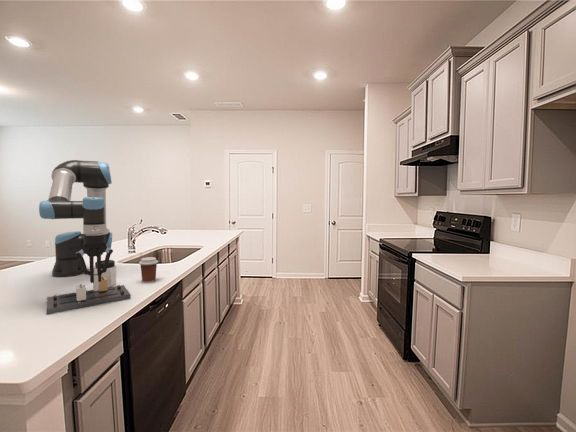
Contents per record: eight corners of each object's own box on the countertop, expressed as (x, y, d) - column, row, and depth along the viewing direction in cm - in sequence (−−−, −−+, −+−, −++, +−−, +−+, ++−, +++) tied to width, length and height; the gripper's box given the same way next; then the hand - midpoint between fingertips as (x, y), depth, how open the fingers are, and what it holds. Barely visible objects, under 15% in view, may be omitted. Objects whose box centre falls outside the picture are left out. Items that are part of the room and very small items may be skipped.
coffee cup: (145, 284, 144) (145, 261, 144) (135, 281, 149) (135, 258, 148) (162, 280, 152) (161, 258, 151) (151, 277, 157) (151, 255, 156)
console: (47, 301, 119) (47, 294, 119) (123, 289, 137) (123, 282, 137) (46, 314, 107) (46, 306, 107) (130, 298, 125) (130, 292, 124)
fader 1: (76, 298, 117) (76, 285, 117) (85, 296, 119) (84, 283, 119) (77, 301, 114) (76, 287, 114) (86, 299, 116) (85, 286, 116)
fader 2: (98, 289, 129) (98, 277, 128) (106, 287, 131) (105, 276, 130) (99, 291, 126) (99, 279, 125) (107, 290, 128) (107, 278, 127)
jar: (94, 289, 136) (93, 264, 135) (94, 284, 143) (94, 261, 142) (116, 286, 141) (116, 262, 140) (115, 282, 147) (115, 259, 147)
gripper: (75, 236, 111) (77, 295, 113) (114, 234, 119) (115, 289, 121) (74, 234, 117) (76, 290, 119) (111, 232, 125) (112, 284, 127)
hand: (96, 289), depth 120 cm, fingers closed
